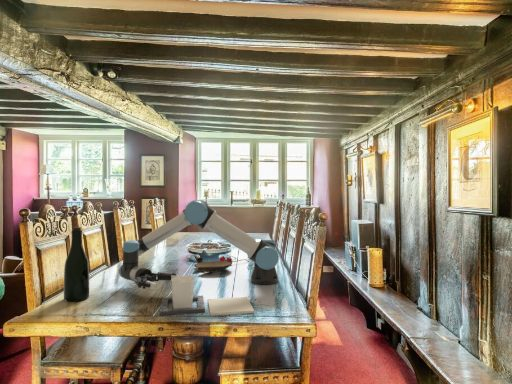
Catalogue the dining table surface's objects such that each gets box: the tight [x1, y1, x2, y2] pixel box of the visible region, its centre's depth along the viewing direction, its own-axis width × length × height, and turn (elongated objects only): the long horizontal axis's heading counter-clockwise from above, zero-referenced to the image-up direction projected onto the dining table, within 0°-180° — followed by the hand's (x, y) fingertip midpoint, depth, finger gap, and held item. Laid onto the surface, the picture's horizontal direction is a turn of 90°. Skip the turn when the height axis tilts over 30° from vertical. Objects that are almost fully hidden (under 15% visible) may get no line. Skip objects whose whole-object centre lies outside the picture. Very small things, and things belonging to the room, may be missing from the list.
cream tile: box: [207, 296, 255, 316], centre depth 149 cm, size 18×18×1 cm
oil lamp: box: [193, 254, 232, 273], centre depth 215 cm, size 22×30×8 cm
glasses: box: [219, 255, 250, 266], centre depth 240 cm, size 14×16×5 cm
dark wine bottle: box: [63, 226, 90, 303], centre depth 158 cm, size 10×10×33 cm
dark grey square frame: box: [159, 295, 206, 316], centre depth 149 cm, size 18×18×2 cm
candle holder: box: [170, 275, 195, 309], centre depth 149 cm, size 10×10×12 cm
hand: (168, 283), depth 155 cm, fingers open, 13 cm apart
